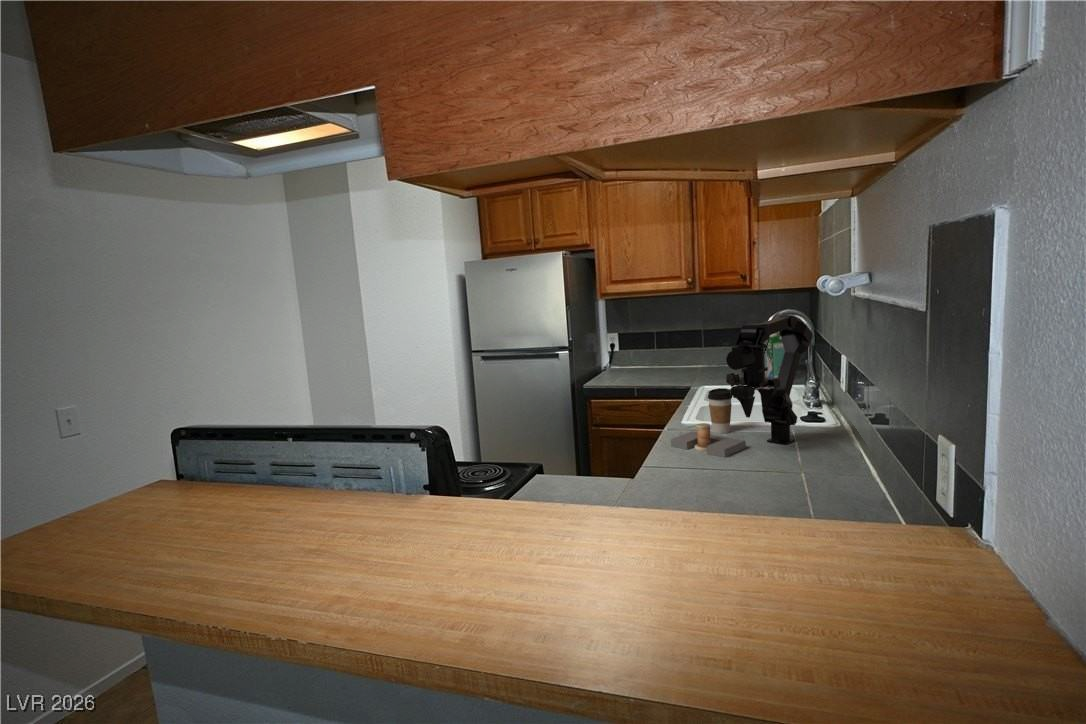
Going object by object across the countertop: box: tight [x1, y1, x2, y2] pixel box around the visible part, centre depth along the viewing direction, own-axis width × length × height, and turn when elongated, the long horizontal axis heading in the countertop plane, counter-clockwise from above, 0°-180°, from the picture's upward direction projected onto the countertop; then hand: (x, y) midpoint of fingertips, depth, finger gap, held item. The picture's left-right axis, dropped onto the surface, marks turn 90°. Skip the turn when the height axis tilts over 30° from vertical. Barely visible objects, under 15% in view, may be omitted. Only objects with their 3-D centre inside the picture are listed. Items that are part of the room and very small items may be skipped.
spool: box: [694, 422, 711, 453], centre depth 179 cm, size 6×6×8 cm
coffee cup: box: [707, 387, 733, 435], centre depth 198 cm, size 8×8×15 cm
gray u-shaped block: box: [670, 431, 747, 458], centre depth 181 cm, size 12×20×2 cm, turn 40°
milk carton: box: [764, 332, 785, 378], centre depth 285 cm, size 9×9×25 cm
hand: (756, 414), depth 172 cm, fingers open, 9 cm apart
